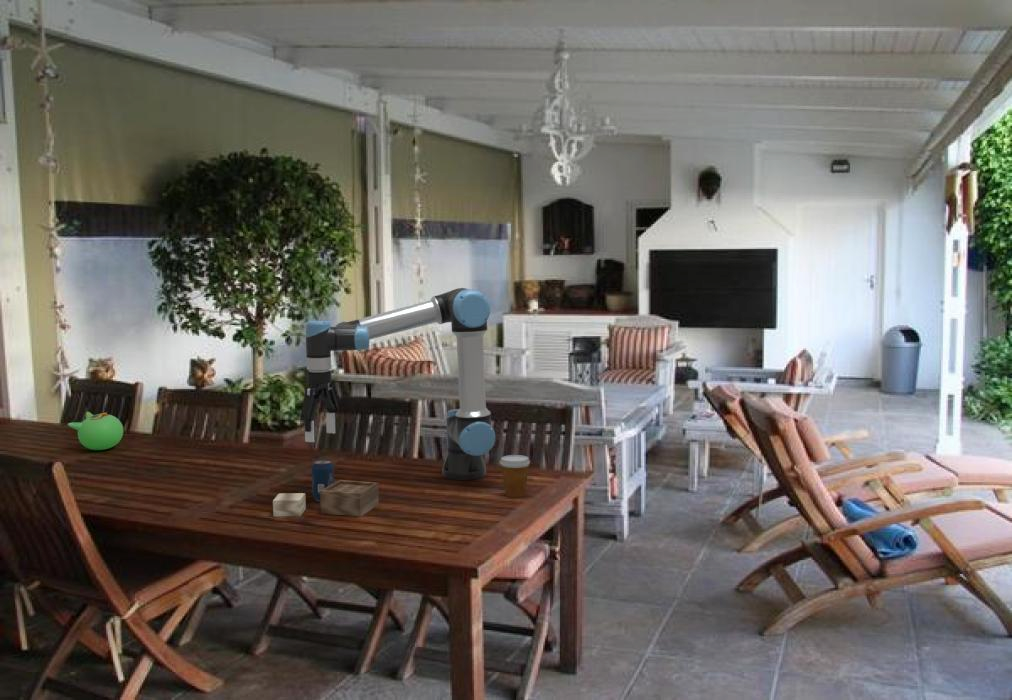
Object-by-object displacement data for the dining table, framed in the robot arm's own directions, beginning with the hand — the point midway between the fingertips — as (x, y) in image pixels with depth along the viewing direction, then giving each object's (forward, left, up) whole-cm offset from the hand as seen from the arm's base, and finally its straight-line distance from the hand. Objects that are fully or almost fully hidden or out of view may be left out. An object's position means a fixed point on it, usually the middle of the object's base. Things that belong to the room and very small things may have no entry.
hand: (320, 437), depth 301 cm
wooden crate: (-14, +9, -19) cm, 26 cm away
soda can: (-1, +1, -20) cm, 20 cm away
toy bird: (+116, -40, -20) cm, 125 cm away
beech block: (+2, +17, -20) cm, 26 cm away
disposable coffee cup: (-58, -19, -20) cm, 64 cm away
